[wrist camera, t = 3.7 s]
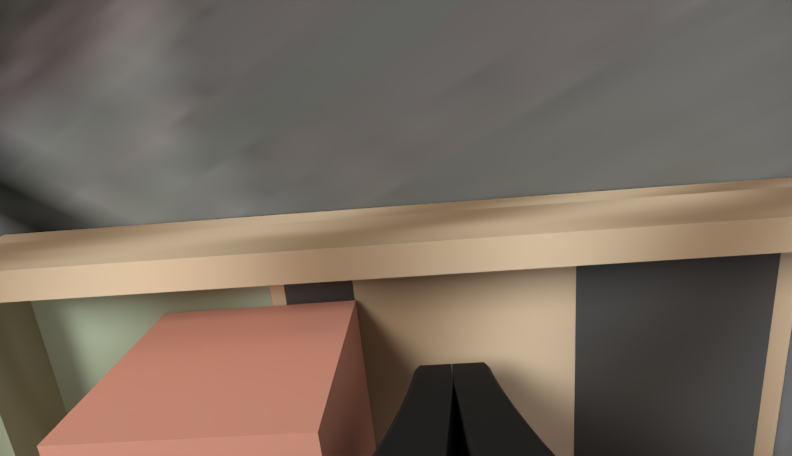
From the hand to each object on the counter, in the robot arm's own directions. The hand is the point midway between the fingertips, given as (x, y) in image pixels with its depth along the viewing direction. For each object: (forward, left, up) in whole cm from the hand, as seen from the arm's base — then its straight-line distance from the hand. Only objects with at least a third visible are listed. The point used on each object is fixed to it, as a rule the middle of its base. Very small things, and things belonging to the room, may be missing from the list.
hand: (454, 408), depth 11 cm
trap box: (+1, 0, -2) cm, 2 cm away
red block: (+4, 0, -1) cm, 4 cm away
